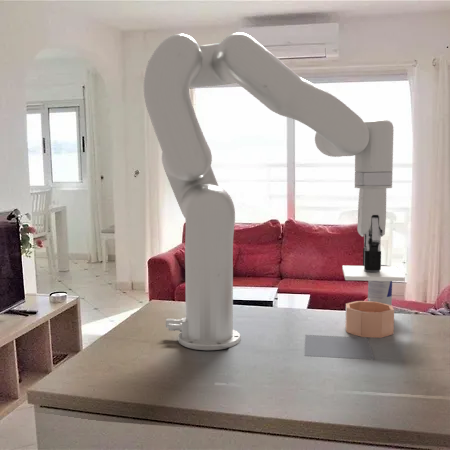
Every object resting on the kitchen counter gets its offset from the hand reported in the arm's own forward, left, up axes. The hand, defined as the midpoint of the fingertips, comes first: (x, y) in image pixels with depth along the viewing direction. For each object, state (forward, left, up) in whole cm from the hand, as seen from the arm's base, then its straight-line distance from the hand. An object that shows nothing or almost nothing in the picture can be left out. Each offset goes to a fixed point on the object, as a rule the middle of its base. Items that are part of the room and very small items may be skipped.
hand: (371, 267), depth 116 cm
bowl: (0, 0, -14) cm, 14 cm away
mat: (-7, -12, -14) cm, 20 cm away
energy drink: (+3, +12, -14) cm, 19 cm away
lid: (0, 0, -2) cm, 2 cm away
